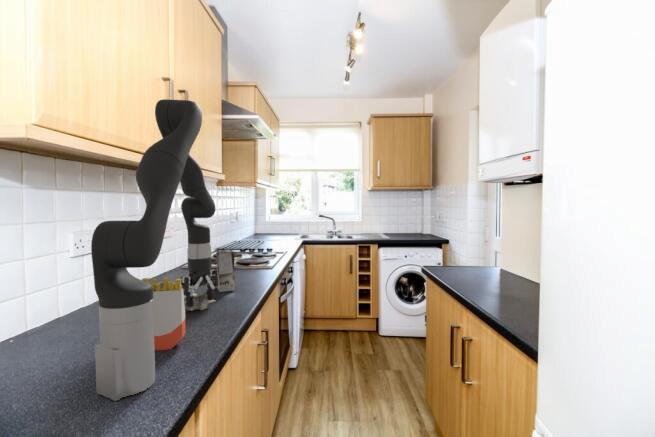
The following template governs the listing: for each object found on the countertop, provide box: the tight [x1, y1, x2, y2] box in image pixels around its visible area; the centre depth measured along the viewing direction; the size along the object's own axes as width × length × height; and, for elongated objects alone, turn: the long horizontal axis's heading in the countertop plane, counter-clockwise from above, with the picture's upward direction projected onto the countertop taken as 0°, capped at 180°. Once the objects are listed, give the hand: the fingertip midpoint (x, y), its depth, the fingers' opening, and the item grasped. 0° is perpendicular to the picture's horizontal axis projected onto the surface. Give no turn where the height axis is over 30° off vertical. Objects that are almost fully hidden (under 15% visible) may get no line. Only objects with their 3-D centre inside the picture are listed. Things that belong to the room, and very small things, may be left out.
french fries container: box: [141, 277, 186, 351], centre depth 83 cm, size 5×11×18 cm, turn 102°
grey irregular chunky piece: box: [184, 292, 208, 312], centre depth 113 cm, size 11×8×4 cm
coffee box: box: [216, 248, 236, 293], centre depth 138 cm, size 9×6×16 cm
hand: (200, 303), depth 112 cm, fingers open, 8 cm apart
